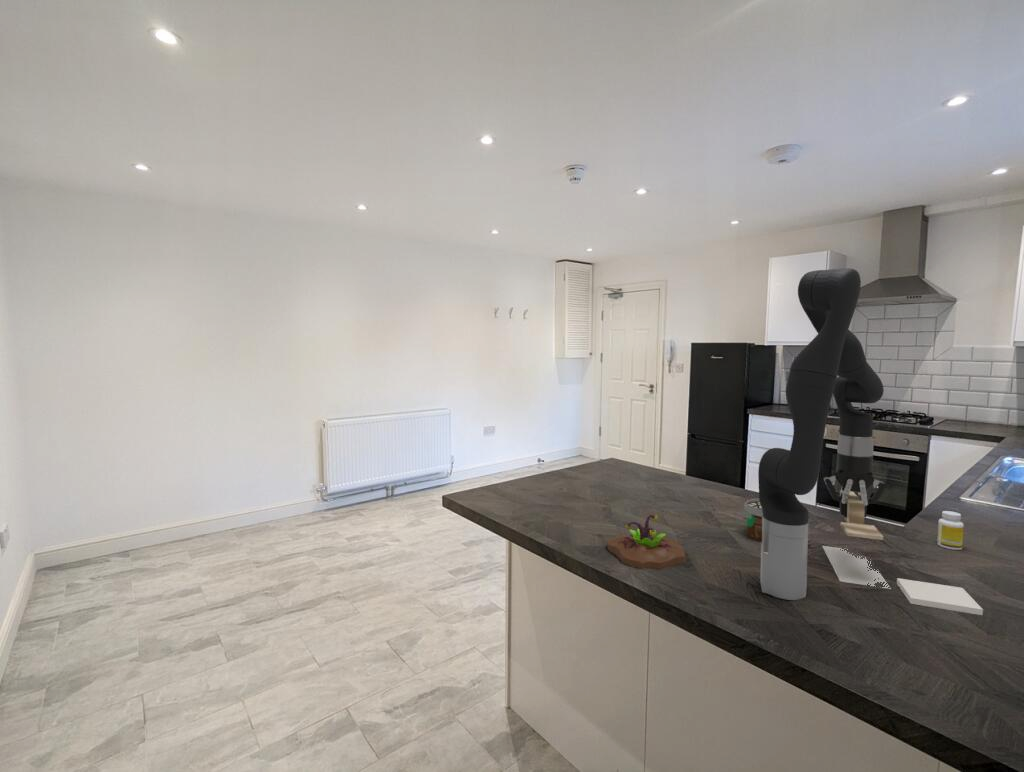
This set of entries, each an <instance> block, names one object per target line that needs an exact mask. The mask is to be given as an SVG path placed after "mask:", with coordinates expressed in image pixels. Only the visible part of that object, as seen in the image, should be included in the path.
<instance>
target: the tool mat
mask: <svg viewBox="0 0 1024 772" xmlns="http://www.w3.org/2000/svg"><path fill="white" fill-rule="evenodd" d="M821 546H822V549H823V551H824V553H825V555H826V557H827V559H828V561H829V562H830V564H831V566H832V568H833V571H834V573H835V574H836V576H837V579H838V580H839V582H840V583H841V582H843V583H848V584H856V585H860V586H861V585H863V586H867V584H868V583H869V584H868V585H870V584H871V585H870V586H869V587H874V586H875V585H874V584H875V583H877V582H879V583H880V582H882V583H883V582H885V583H884V584H883V586H884V585H885V584H886V583H887V584H886V585H885V587H882V589H889V590H892V588H891V587H890V585H889V584H888V582H887V580H886V579H885V578H884V577H883V575H882V574H881V572H880V571H879V570H878V569H877V570H878V571H877V570H876V571H874V570H875V569H874V570H873V569H872V568H870V567H869V566H870V564H871V561H872V560H871V561H870V564H869V566H868V563H869V561H868V560H867V559H866V557H865V559H864V558H863V559H860V558H861V557H862V556H861V557H860V556H859V558H858V556H857V558H856V557H855V556H854V555H853V556H852V554H853V553H852V554H849V552H848V553H847V551H846V550H845V551H844V549H845V548H844V549H842V548H843V547H834V546H826V545H821ZM840 549H841V550H840ZM846 549H847V550H848V549H849V548H846ZM842 550H843V551H842ZM867 561H868V563H867ZM871 566H872V565H871ZM867 567H868V568H867ZM869 568H870V569H872V570H870V569H869ZM868 570H869V571H868ZM877 572H878V573H877ZM879 572H880V573H879ZM878 578H879V579H878ZM875 579H876V580H875ZM874 580H875V581H874ZM882 583H881V584H882ZM887 585H888V586H887ZM886 586H887V587H886ZM888 587H890V588H888ZM875 588H877V587H876V586H875Z"/></svg>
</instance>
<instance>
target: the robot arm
mask: <svg viewBox="0 0 1024 772" xmlns="http://www.w3.org/2000/svg"><path fill="white" fill-rule="evenodd" d="M861 283H862V281H861V276H860V273H859V271H858V270H856V269H855V268H849V267H848V268H835V269H833V268H832V269H819V270H811V271H809V272H808V271H807V272H806V273H804V274H803V276H801V278H800V280H799V283H798V286H797V296H798V301H799V303H800V305H801V307H802V309H803V311H804V313H805V314H806V317H807V318H808V319H809V321H810V323H811V325H812V326H813V328H814V330H815V331H816V333H817V334H816V335H815V336H814V337H813V339H812V340H811V341H810V342H809V343H808V344H806V346H805V347H803V349H802V350H801V351H800V352H799V353H798V354H797V356H796V357H795V358H794V359H793V361H792V363H791V365H790V368H789V371H788V372H789V373H788V376H787V377H788V378H787V381H786V382H787V383H786V387H785V398H786V401H787V406H788V410H789V413H790V416H791V420H792V424H793V434H792V441H791V445H790V449H785V448H781V447H773V448H769V449H768V450H766V451H765V452H764V453H763V455H762V456H761V459H759V460H760V461H759V465H758V472H757V473H758V475H757V476H758V499H759V501H760V505H761V507H762V510H763V525H762V542H761V545H760V574H759V575H760V576H759V578H760V579H759V582H760V583H759V584H760V587H761V592H762V593H763V594H766V595H767V594H768V595H771V596H772V597H775V598H778V599H783V600H787V601H798V600H802V599H804V598H805V597H806V596H807V590H808V589H807V588H808V586H807V581H808V580H807V579H808V549H809V547H808V542H809V511H808V509H807V508H806V506H805V505H803V503H802V502H800V500H799V499H798V497H797V496H804V495H807V494H809V493H811V491H813V489H814V488H815V486H816V484H817V483H818V480H819V478H820V477H819V476H820V472H821V471H820V470H821V465H822V464H821V463H822V456H823V445H824V437H825V430H826V427H827V426H826V425H827V420H828V417H829V415H828V414H829V409H830V406H831V402H832V398H834V401H835V405H836V408H837V412H838V417H839V431H838V432H839V433H838V440H837V447H836V450H837V457H836V458H837V461H836V462H837V463H836V471H835V473H834V475H833V476H830V477H829V476H825V477H823V482H824V483H825V485H826V488H827V489H828V491H829V493H830V496H831V498H832V499H833V500H834V501H837V502H839V513H840V515H841V516H842V518H844V517H845V518H847V500H848V496H849V494H850V491H852V492H857V494H858V497H859V498H860V500H861V501H862V502H863V503H864V504H865V514H864V518H866V517H868V516H867V514H868V513H867V512H868V506H869V505H871V504H872V505H875V504H876V503H877V502H878V501H879V499H880V498H881V496H882V494H883V493H884V491H885V490H886V487H887V484H886V483H885V482H883V481H882V480H878V479H875V476H874V473H873V465H874V441H873V429H874V428H873V427H874V418H873V415H872V414H871V413H868V412H864V411H860V410H858V409H856V408H855V407H854V406H853V404H852V403H855V404H875V403H877V402H879V401H880V400H881V399H882V397H883V395H884V390H885V389H884V385H883V382H882V379H881V378H880V377H879V375H878V374H877V373H876V372H875V370H874V369H873V368H872V366H870V364H869V363H868V361H867V359H866V358H867V357H866V355H865V351H864V348H863V345H862V343H861V341H860V339H859V338H858V337H857V336H856V334H854V333H853V332H852V331H851V330H850V329H849V328H850V325H851V322H852V319H853V317H854V314H855V312H856V307H857V304H858V301H859V298H860V293H861V285H862V284H861ZM836 481H837V482H838V484H839V485H840V486H841V489H840V491H841V494H840V493H839V495H838V494H837V491H836V489H835V487H834V486H835V484H836ZM870 486H873V490H872V491H871V493H870V495H869V497H868V494H867V489H868V488H869V487H870Z"/></svg>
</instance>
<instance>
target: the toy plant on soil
mask: <svg viewBox="0 0 1024 772" xmlns="http://www.w3.org/2000/svg"><path fill="white" fill-rule="evenodd" d="M658 518H659V517H658V515H657V514H654V513H652V514H648V516H647V517H646V520H645V522H644V527H643V526H642V525H641V523H639V522H636V521H631V522H628V523H626V524H625V529H626V530H628V529H629V532H630V534H625V535H616V536H615V538H609V539H608V540H607V551H608V550H609V551H610V552H609V551H608V552H609V553H611V552H612V553H613V555H614V554H615V555H614V556H615V557H616V558H618V559H619V561H621V563H622V564H623V563H625V564H624V565H626V564H627V565H626V566H628V565H629V567H631V566H633V567H632V568H635V567H637V568H636V569H638V568H640V569H639V570H641V569H643V570H645V569H644V568H647V569H653V568H656V569H655V570H663V568H664V569H667V568H666V567H668V568H671V566H672V567H674V566H679V565H683V564H685V563H686V561H687V560H686V553H685V548H684V546H683V545H682V544H681V543H679V542H678V541H676V540H675V539H671V538H669V537H666V533H658V534H657V533H656V532H657V530H656V529H654V528H652V527H649V523H650V519H652V520H653V521H657V520H658ZM631 525H636V526H637V529H636V530H633V529H630V528H631ZM612 553H611V554H612Z"/></svg>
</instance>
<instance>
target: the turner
mask: <svg viewBox="0 0 1024 772" xmlns="http://www.w3.org/2000/svg"><path fill="white" fill-rule="evenodd" d="M840 494H841V490H839V495H840ZM864 514H865V504H864V503H863V502H862V501H861V500H860V498H859V495H857V494H856V493H855V491H850V494H849V496H848V500H847V518H845V517H843V519H844V520H845V521H846V522H843V521H840V527H841V528H842V530H843V531H844V533H845V534H846V536H847V537H852V538H854V537H855V538H864V539H872V540H881V541H883V540H884V536H883V535H882V533H881V532H880V531H879V530H878V528H877V527H876V526H875V525H872V524H865V517H864Z"/></svg>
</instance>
